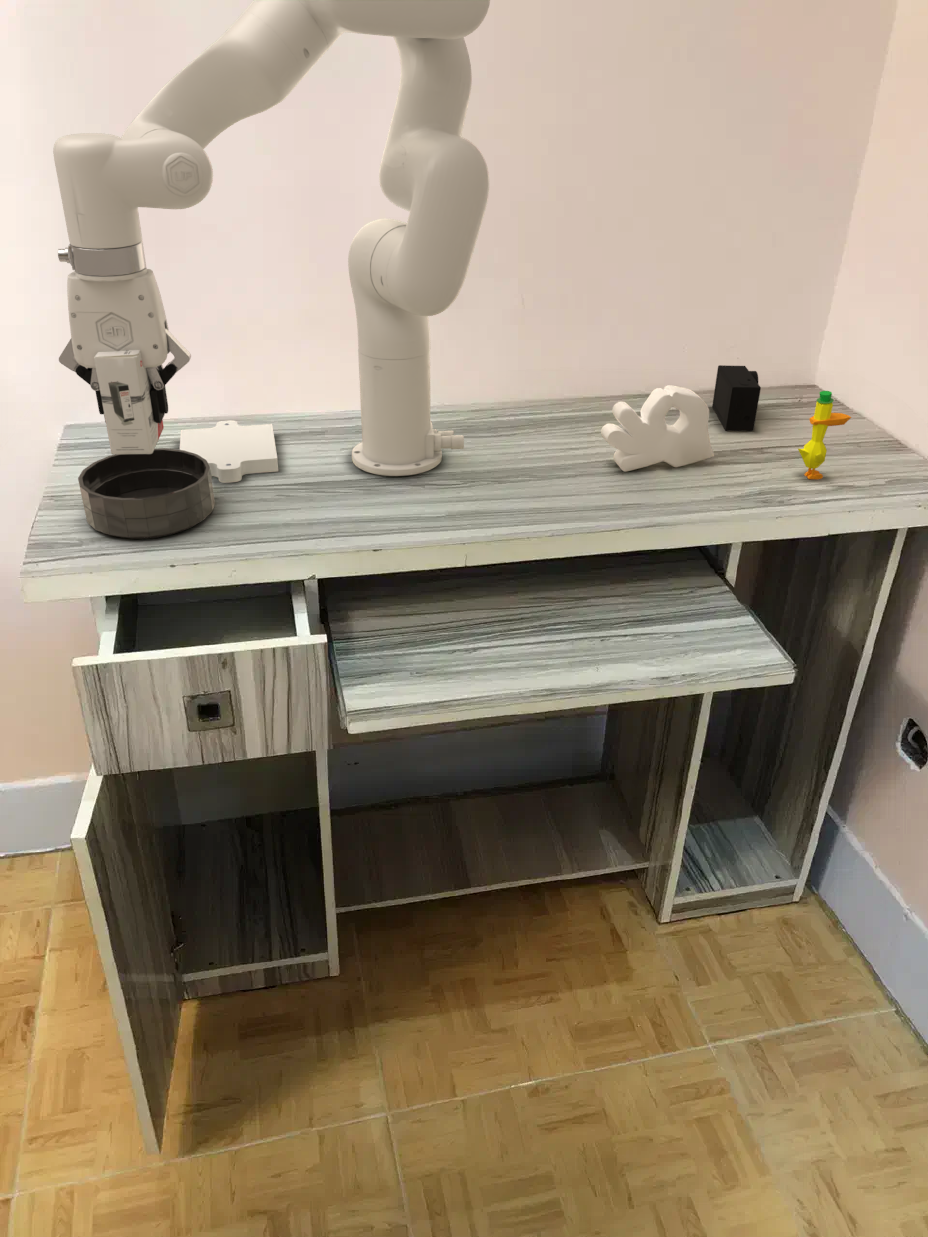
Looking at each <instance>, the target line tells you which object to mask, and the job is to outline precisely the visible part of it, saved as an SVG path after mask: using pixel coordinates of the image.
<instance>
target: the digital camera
mask: <svg viewBox="0 0 928 1237" xmlns="http://www.w3.org/2000/svg"><path fill="white" fill-rule="evenodd" d="M761 389H762V388H761V386H760V384H759V374H758V371H756V370H749V369H748V367H746V365H718V366H717V371H716V379H715V385H714V392H713V398H712V405H711V408H712V410H713V412H714V413H715V415H716V417H717V419H718V421H719V422H720V424H721V425H722V428H723V429H724V431H725V432H754V430H755V425H756V424H755V423H756V418H757V413H758V407H759V401H760V395H761Z"/></svg>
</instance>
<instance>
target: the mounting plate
mask: <svg viewBox="0 0 928 1237" xmlns="http://www.w3.org/2000/svg"><path fill="white" fill-rule="evenodd" d="M273 428H274V427H273V423H265V424H252V425H251V424H249V425H240V424H239V423H238V421H237V420H233V419H232V420H231V419H230V420H220V421H217V422H216V423H215V426H213V427H204V428H203V427H202V428H187V429H180V437H179V438H180V439H179V450H184V451H188V452H191V453H195V454H198V455H199V456H201V457H202V458H204V459H205V460H207V462H208V464H209V466H210V469H211V477H216V478H217V479H218V481H219V483H222V484H230V483H238V482H240V481H242V477H243V476H244V475H250V474H263V473H277V472H279V463H278V454H277V447H276V440H275V432H274V429H273Z"/></svg>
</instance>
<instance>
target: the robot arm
mask: <svg viewBox="0 0 928 1237" xmlns="http://www.w3.org/2000/svg"><path fill="white" fill-rule="evenodd" d="M490 3H491V0H252V1H251V3H250V4H249V5H248V6H247V7H246V8H245V9H244V11H243V12H242V13H241V14H240V15H238V18H237V19H236V20H234V21H233V23H232V24H231V25H230V26H229V27H228V28H227V30H226V31H225V32H223V34H221V36H220V37H218V38H217V39H216V40H215V41H214V42H212V43H211V44H210V45H208V46H207V47H206V48H205V49H204V50H203V51H201V53H199V55H197V56H196V57H195V58H194V59H193V60H192V61H191V62H189V63H188V64H187V65H185V67H183V68H182V69H181V70H180V71H179V72H177V73H176V74H175V75H174V76H173V77H171V79H170V80H168V81H167V82H166V83H165V84H164V85H163V86H162V87H161V88H160V89H159V90H158V91H157V92H156V93H155V95H154V96H153V97H152V98H151V99H150V100H149V101H148V102H147V104H145V106H144V107H143V108H142V110H140V112H139V113H138V114H137V115H136V117H134V119H133V120H132V121H131V122H130V123H129V125H128V126H127V127H126V128H125V130H124V131H123V133H122V135H121V136H118V135H115V134H112V133H111V134H110V133H101V132H84V133H82V132H81V133H70V134H66V135H63V136H61V137H59V138H57V139H56V140H55V142H54V144H53V151H52V152H53V161H54V166H55V171H56V176H57V182H58V188H59V192H60V198H61V203H62V204H61V205H62V209H63V214H64V220H65V226H66V231H67V237H68V241H69V244H68V245H67V247H65V248H58V249H57V257H58V258H57V259H58V261H59V262H61V263H67V264H70V266H71V268H72V272H71V273H69V274H67V284H66V287H67V288H66V289H67V290H66V292H67V294H66V295H67V308H68V320H69V321H68V322H69V330H70V339H69V341H68V343H67V344H66V346H65V347H64V349H63V350H62V352H61V354H60V356H59V357H58V362H59V363H60V364H61V365H63V366H64V367H66V368H67V369H69V370H70V371H72V372H75V374H76V375H77V376H78V377H79V378H80V379H82V380H83V381H84V382H86V383H87V384H88V385H89V386H90V388H91V390H93V391H95V396H96V403H97V408H98V412H99V415H103V417H104V419H105V415H104V410H103V404H102V398H101V393H100V387H99V382H98V376H97V371H96V365H95V360H94V357H95V356H96V354H97V353H98V352H113V351H126V350H140V353H141V359H142V365H143V367H144V368H146V371H147V374H148V376H149V378H150V380H151V382H152V384H151V385H152V388H151V390H150V399H151V405H152V412H153V418H154V422H156V423H161V421H162V420H164V417H165V414H168V413H169V403H168V396H167V389H166V385H167V384H168V383H169V382H170V380H171V379H173V377H174V376H175V375H176V373H178V372H180V370H181V369H183V368H184V367H185V366H186V365H187V364H188V363H189V362H190V361H191V360H192V359H191V358H192V354H191V353H190V351H189V350H188V349H187V348H186V347H184V345H183V344H182V343H181V342H180V341H179V340H178V339H177V337H175V336H174V335H173V334H172V333H171V331H170V329H169V325H168V319H167V314H166V310H165V307H164V303H163V299H162V296H161V292H160V288H159V284H158V282H157V278H156V276H155V273H154V271H153V270H152V269H150V268H147V263H146V255H145V254H146V253H145V249H144V241H143V235H142V228H141V221H140V214H139V208H146V209H147V208H149V209H163V210H185V209H189V208H192V207H195V206H196V205H198V204H200V203H201V202H202V201H204V200H205V198H206V197H207V196H208V194H209V193H210V191H211V189H212V187H213V186H212V185H213V181H214V171H213V165H212V162H211V160H210V157H209V156H208V154H207V152H206V151H205V148H206V147H207V146H208V145H209V144H211V143H212V141H214V140H215V139H216V138H217V137H218V136H219V135H221V134H222V133H223V132H225V131H226V130H227V129H228V128H231V127H232V126H233V125H234V124H237V123H238V122H240V121H242V120H244V119H247V118H249V117H252V116H253V117H254V116H256V115H258V114H261V113H263V112H265V111H269V109H272V108H273V107H275V106H277V105H279V104H280V103H283V102H284V101H285V100H286V98H287V97H288V96H289V95H290V94H291V93H292V92H293V90H294V89H295V88H296V87H297V85H299V83H300V82H302V80H303V79H304V78H305V77H306V75H307V74H308V73H309V72H310V71H311V70H312V69H313V67H314V66H315V65H317V63H318V62H319V60H321V58H322V57H324V55H325V54H326V52H328V51H329V49H330V48H332V46H333V45H334V44H335V42H336V41H337V40H338V39H339V38H340V37H341V36H342V35H343V34H344V33H345V34H360V35H361V34H362V35H371V36H381V37H393V40H394V42H395V45H396V47H397V51H398V56H399V61H400V62H399V63H400V77H399V84H398V89H397V90H398V91H397V94H396V101H395V105H394V109H393V113H392V116H391V120H390V124H389V128H388V133H387V136H386V140H385V144H384V149H383V153H382V156H381V161H380V164H379V172H378V182H379V186H380V189H381V191H382V193H383V195H384V197H385V198H386V200H388V201H389V202H390V203H391V204H393V205H394V206H396V207H398V208H400V209H402V210H404V211H406V212H409V214H408V218H407V222H405V221H401V220H400V219H399V220H398V219H394V218H378V219H374V220H372V221H369V222H368V223H366V224H364V225H363V226H361V228H360V229H359V230H358V231H357V232H356V234H355V235H354V237H353V239H352V241H351V242H350V246H349V251H348V258H347V259H348V260H347V264H348V265H347V266H348V276H349V281H350V287H351V291H352V297H353V302H354V303H353V304H354V310H355V316H356V328H357V353H358V355H357V356H358V376H359V377H358V378H359V399H360V422H361V425H360V426H361V441H360V442H359V443H357V444H356V445H355V446H354V447H353V448H352V450H351V462H352V463H353V464H354V465H355V466H356V468H358V469H359V470H362V471H364V472H366V473H369V474H374V475H378V476H386V477H406V476H413V475H414V476H415V475H418V474H423V473H426V472H428V471H430V470H432V469H434V468H436V467H437V466H438V465H440V463H441V462H442V460H443V459H442V458H443V456H442V455H443V452H442V450H444V449H446V450H448V449H450V450H464V449H465V436H464V435H463V434H456V435H455V430H440V431H439V430H437V429H436V428H435V429H434V426H433V421H432V420H431V418H432V417H431V326H430V319H429V317H432V316H433V317H434V316H436V315H439V314H441V313H444V312H445V311H446V310H447V309H448V308H449V307H451V306H452V304H454V302H456V299H458V296H459V295H460V293H461V290H462V288H463V286H464V283H465V281H466V278H467V275H468V272H469V268H470V265H471V261H472V258H473V255H474V252H475V248H476V245H477V241H478V238H479V234H480V230H481V228H482V223H483V220H484V216H485V213H486V210H487V206H488V202H489V195H490V172H489V168H488V163H487V161H486V159H485V156H484V154H483V153H482V151H481V150H480V149H479V148H478V147H477V145H476V144H474V143H473V142H472V141H470V140H468V139H467V138H465V137H463V136H462V135H463V130H464V126H465V121H466V116H467V111H468V107H469V104H470V98H471V92H472V84H473V83H472V82H473V81H472V77H473V76H472V75H473V74H472V64H471V60H470V59H471V58H470V54H469V51H468V47H467V44H466V40H465V37H468V36H469V35H471V34H472V33H473V32H475V31H476V30H477V29H478V28H479V27H480V26H481V24H482V23H483V22H484V20H485V18H486V16H487V14H488V11H489V8H490ZM170 353H171V354H172V355H173V359H172V360H171V361H169V362H168V363H167V364H166V365H165V366H163V364H164V363H165V362H166V360H167V358H168V354H170ZM104 423H105V424H106V421H105V420H104Z"/></svg>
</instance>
